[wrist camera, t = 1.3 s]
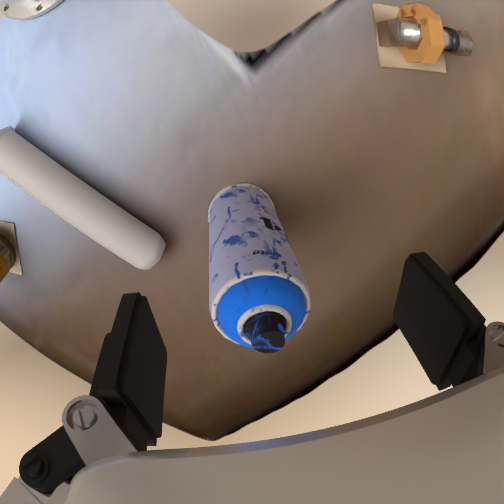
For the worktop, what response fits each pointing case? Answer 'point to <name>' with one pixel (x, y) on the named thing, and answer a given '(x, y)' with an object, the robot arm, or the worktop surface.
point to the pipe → (414, 35)
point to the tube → (78, 202)
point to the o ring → (423, 34)
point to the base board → (388, 44)
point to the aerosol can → (253, 271)
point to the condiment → (8, 251)
